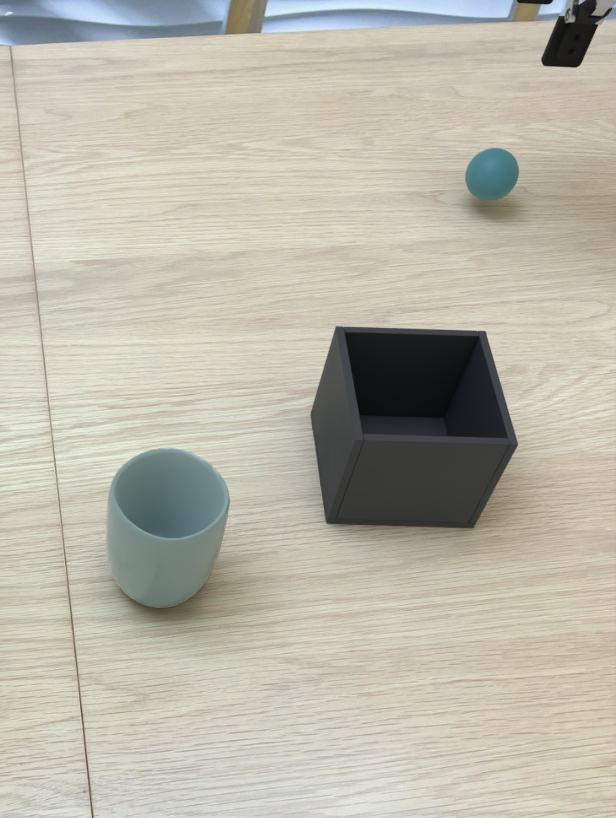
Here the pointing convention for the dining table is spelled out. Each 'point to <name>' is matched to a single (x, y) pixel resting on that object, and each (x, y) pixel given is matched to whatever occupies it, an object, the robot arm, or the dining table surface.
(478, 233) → the dining table surface
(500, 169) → the teal ball
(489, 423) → the bin
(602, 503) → the dining table surface
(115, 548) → the cup
